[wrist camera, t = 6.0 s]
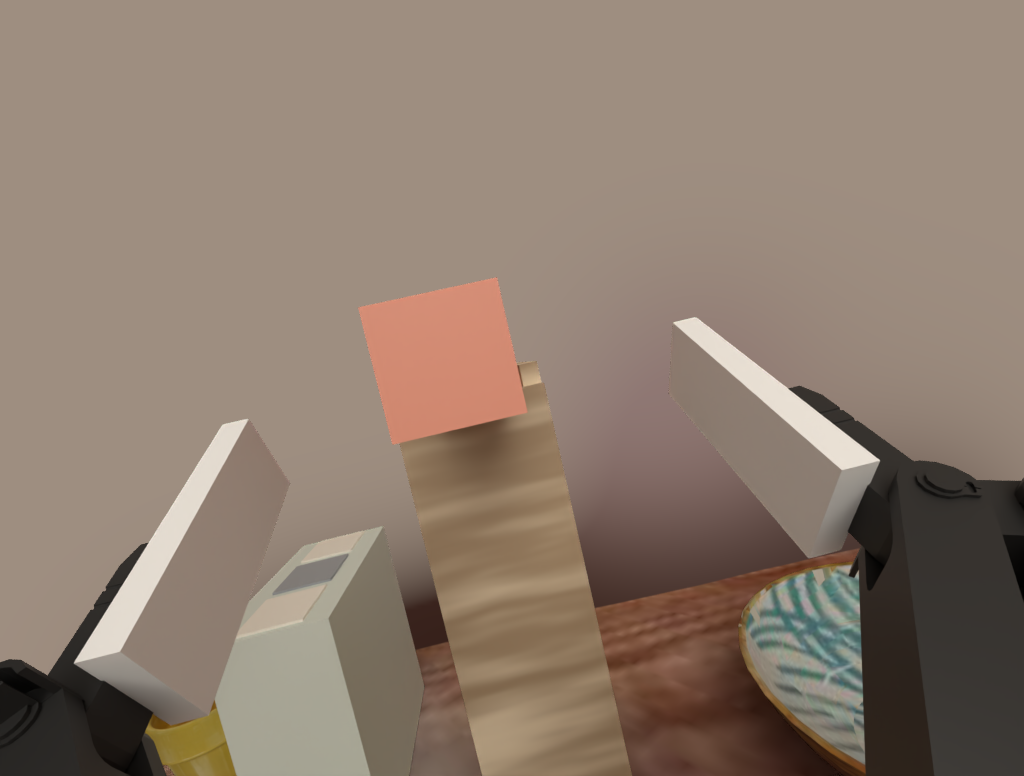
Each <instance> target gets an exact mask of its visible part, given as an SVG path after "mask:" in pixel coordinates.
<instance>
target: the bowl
mask: <svg viewBox="0 0 1024 776" xmlns="http://www.w3.org/2000/svg"><path fill="white" fill-rule="evenodd" d="M852 564H853V562H842V563H832V564H826V565H821V566H815V567H810V568H806V569H803V570H800V571H797V572H793V573H790V574H787V575H785V576H783V577H781V578H779V579H777V580H775V581H773V582H771V583H769V584H767V585H766V586H765V587H764V588H762V589H761V590H760V591H759V592H757V593H756V594H755V595H754V596H753V597H752V598H751V600H750V601H749V603H748V604H747V605H746V607H745V608H744V610H743V612H742V616H741V619H740V623H739V626H738V632H739V647H740V650H741V652H742V655H743V658H744V661H745V663H746V666H747V669H748V670H749V672H750V673H751V675H752V676H753V678H754V679H755V681H756V682H757V684H758V685H759V687H760V688H761V690H762V692H763V693H764V695H765V696H766V697H767V698H768V700H769V701H770V702H771V704H772V705H773V706H774V708H775V709H776V710H777V711H778V713H779V714H780V715H781V716H782V717H783V718H784V719H785V721H786V722H787V723H788V724H789V725H790V726H791V727H792V728H793V729H794V730H795V731H796V732H797V734H798V735H799V736H800V737H801V738H802V739H803V740H804V741H805V742H806V743H807V744H808V745H809V746H810V747H811V748H812V749H813V750H814V751H815V752H816V753H817V754H818V755H819V756H820V757H822V758H823V759H824V760H825V761H827V762H828V763H829V764H830V765H832V766H833V767H834V768H835V769H836V770H838V771H839V772H840V773H841V774H843V775H844V776H866V771H865V742H864V713H863V684H862V655H861V626H860V597H859V570H858V572H857V574H856V576H855V578H852V577H849V576H848V575H849V572H850V569H851V567H852Z"/></svg>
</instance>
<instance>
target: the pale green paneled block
mask: <svg viewBox="0 0 1024 776" xmlns="http://www.w3.org/2000/svg"><path fill="white" fill-rule="evenodd" d="M424 687H425V686H424V682H423V678H422V675H421V671H420V667H419V663H418V659H417V655H416V651H415V647H414V643H413V639H412V636H411V632H410V627H409V624H408V620H407V616H406V612H405V608H404V604H403V600H402V596H401V592H400V588H399V585H398V581H397V576H396V573H395V569H394V565H393V561H392V557H391V553H390V549H389V545H388V541H387V537H386V534H385V529H384V527H383V526H382V527H377V528H374V529H370V530H365V531H360V532H356V533H352V534H348V535H344V536H340V537H335V538H332V539H327V540H323V541H320V542H317V543H313V544H309V545H305V546H303V547H302V548H301V549H300V550H299V551H298V552H297V553H296V554H295V555H294V556H293V557H292V558H291V559H290V560H289V561H288V562H287V564H285V565H284V566H283V567H282V569H280V571H279V572H278V573H277V574H276V575H275V576H274V577H273V578H272V579H271V580H270V581H269V582H268V583H267V584H266V585H265V586H264V587H263V588H262V589H261V590H260V591H259V592H258V593H257V594H256V595H255V596H254V597H253V598H252V599H251V600H250V601H249V602H248V605H247V608H246V611H245V613H244V616H243V619H242V622H241V625H240V628H239V631H238V633H237V636H236V639H235V642H234V645H233V648H232V651H231V653H230V656H229V659H228V662H227V665H226V668H225V671H224V673H223V676H222V679H221V682H220V685H219V688H218V691H217V693H216V696H215V699H214V700H215V703H216V706H217V710H218V713H219V717H220V720H221V724H222V727H223V731H224V734H225V737H226V741H227V744H228V748H229V751H230V755H231V758H232V762H233V765H234V768H235V772H236V775H237V776H409V774H410V768H411V762H412V757H413V751H414V745H415V739H416V733H417V728H418V722H419V716H420V710H421V704H422V698H423V693H424Z"/></svg>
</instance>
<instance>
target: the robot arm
mask: <svg viewBox="0 0 1024 776" xmlns="http://www.w3.org/2000/svg"><path fill="white" fill-rule="evenodd" d="M669 395H670V396H671V397H672V398H673V399H674V401H675V402H676V403H677V404H678V405H679V406H680V408H681V409H682V410H683V411H684V412H685V414H686V415H687V416H688V417H689V418H690V420H691V421H692V422H693V423H694V424H695V425H696V427H697V428H698V429H699V430H700V431H701V432H702V434H703V435H704V436H705V437H706V438H707V440H708V441H709V442H710V443H711V444H712V445H713V446H714V448H715V449H716V450H717V451H718V452H719V454H720V455H721V456H722V457H723V458H724V459H725V461H726V462H727V463H728V464H729V465H730V467H731V468H732V469H733V470H734V471H735V472H736V474H737V475H738V476H739V477H740V478H741V479H742V481H743V482H744V483H745V484H746V485H747V487H748V488H749V489H750V490H751V491H752V492H753V494H754V495H755V496H756V497H757V498H758V499H759V501H760V502H761V503H762V504H763V505H764V506H765V508H766V509H767V510H768V511H769V512H770V514H771V515H772V516H773V517H774V518H775V519H776V521H777V522H778V523H779V524H780V525H781V527H782V528H783V529H784V530H785V531H786V532H787V533H788V535H789V536H790V537H791V538H792V539H793V541H794V542H795V543H796V544H797V545H798V547H799V548H800V549H801V550H802V551H803V552H804V554H805V555H806V556H807V557H808V558H812V557H816V556H820V555H824V554H827V553H831V552H835V551H839V550H841V549H842V546H843V544H844V542H845V540H846V537H847V535H848V533H850V534H851V535H852V536H853V537H854V538H855V539H856V540H857V541H858V542H859V543H860V544H861V545H862V546H861V548H860V550H859V552H858V554H857V556H856V558H855V560H854V562H853V564H852V567H851V569H850V572H849V575H848V576H849V577H852V578H855V576H856V574H857V572H858V570H859V597H860V626H861V655H862V684H863V713H864V742H865V771H866V776H1024V478H1023V479H1022V481H994V480H992V481H991V480H976V479H974V478H973V477H972V476H970V475H969V474H967V473H965V472H963V471H960V470H958V469H956V468H954V467H951V466H947V465H944V464H940V463H937V462H929V461H912V460H911V459H910V458H908V457H907V456H906V455H904V454H903V453H901V452H900V451H899V450H897V449H896V448H895V447H893V446H892V445H890V444H889V443H888V442H886V441H885V440H883V439H882V438H881V437H879V436H878V435H877V434H875V433H874V432H873V431H871V430H870V429H868V428H867V427H866V426H864V425H863V424H862V423H860V422H859V421H855V420H854V418H853V417H852V416H851V415H849V414H848V413H846V412H845V411H844V410H840V408H839V407H838V406H837V405H835V404H834V403H833V402H831V401H830V400H828V399H827V398H826V397H824V396H823V395H821V394H819V393H816V392H814V391H811V390H809V389H806V388H804V387H802V386H797V387H793V388H789V389H788V388H786V387H785V386H784V385H782V384H781V383H780V382H779V381H777V380H776V379H775V378H773V377H772V376H771V375H770V374H768V373H767V372H766V371H765V370H763V369H762V368H761V367H759V366H758V365H757V364H756V363H754V362H753V361H751V360H750V359H749V358H748V357H746V356H745V355H744V354H742V353H741V352H740V351H739V350H737V349H736V348H735V347H734V346H732V345H731V344H730V343H728V342H727V341H726V340H725V339H723V338H722V337H721V336H720V335H718V334H717V333H716V332H714V331H713V330H712V329H711V328H709V327H708V326H707V325H705V324H704V323H703V322H702V321H700V320H699V319H698V318H696V317H695V318H690V319H686V320H682V321H677V322H673V326H672V343H671V361H670V379H669ZM289 485H290V482H289V481H288V479H287V478H286V476H285V475H284V473H283V472H282V470H281V468H280V467H279V465H278V464H277V462H276V460H275V459H274V457H273V456H272V454H271V453H270V451H269V449H268V448H267V447H266V445H265V443H264V442H263V440H262V439H261V437H260V435H259V434H258V432H257V431H256V429H255V428H254V426H253V424H252V423H251V421H250V420H249V419H245V420H241V421H236V422H232V423H227V424H224V425H222V426H221V428H220V430H219V431H218V433H217V434H216V436H215V438H214V439H213V441H212V443H211V444H210V446H209V447H208V449H207V450H206V452H205V454H204V455H203V457H202V459H201V460H200V462H199V463H198V465H197V466H196V468H195V470H194V471H193V473H192V474H191V476H190V478H189V479H188V481H187V483H186V484H185V486H184V488H183V489H182V491H181V492H180V494H179V495H178V497H177V498H176V500H175V502H174V503H173V505H172V507H171V508H170V510H169V511H168V513H167V515H166V516H165V518H164V519H163V521H162V523H161V524H160V526H159V527H158V529H157V531H156V532H155V534H154V535H153V537H152V539H151V540H150V542H149V543H145V544H142V545H140V546H139V547H138V548H137V549H136V550H135V551H134V552H133V553H132V554H131V555H130V556H129V557H128V558H127V559H126V560H125V561H124V562H123V563H122V564H121V565H120V566H119V568H118V570H117V571H116V572H115V574H114V575H113V577H112V578H111V580H110V581H109V583H108V584H107V586H106V591H104V592H102V594H101V595H100V597H99V598H98V600H97V601H96V603H95V604H94V609H93V610H90V612H89V613H88V615H87V617H86V618H85V620H84V621H83V623H82V624H81V626H80V627H79V629H78V630H77V632H76V633H75V635H74V636H73V638H72V639H71V641H70V642H69V644H68V646H67V647H66V648H65V650H64V651H63V653H62V655H61V656H60V658H59V659H58V661H57V662H56V664H55V665H54V667H53V668H52V670H51V671H50V673H49V674H48V676H47V675H46V674H44V673H42V672H41V671H39V670H37V669H35V668H34V667H32V666H30V665H29V664H27V663H25V662H24V661H22V660H12V659H9V660H6V661H3V662H0V776H166V773H165V771H164V768H163V765H162V762H161V759H160V757H159V754H158V751H157V748H156V746H155V743H154V741H153V740H152V739H151V737H150V736H149V735H148V734H146V733H145V731H146V728H147V726H148V724H149V722H150V719H151V717H152V715H153V714H154V715H155V716H157V717H158V718H160V719H162V720H163V721H165V722H166V723H168V724H169V725H174V724H178V723H182V722H186V721H190V720H193V719H197V718H201V717H205V716H209V713H210V711H211V708H212V705H213V702H214V699H215V696H216V693H217V691H218V688H219V685H220V682H221V679H222V676H223V673H224V671H225V668H226V665H227V662H228V659H229V656H230V653H231V651H232V648H233V645H234V642H235V639H236V636H237V633H238V631H239V628H240V625H241V622H242V619H243V616H244V613H245V611H246V608H247V605H248V602H249V599H250V596H251V593H252V591H253V588H254V585H255V582H256V579H257V576H258V573H259V571H260V568H261V565H262V562H263V559H264V556H265V553H266V551H267V548H268V545H269V542H270V539H271V536H272V533H273V531H274V528H275V525H276V522H277V519H278V516H279V513H280V510H281V508H282V504H283V502H284V499H285V496H286V493H287V490H288V487H289Z"/></svg>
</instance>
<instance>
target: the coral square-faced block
mask: <svg viewBox="0 0 1024 776" xmlns="http://www.w3.org/2000/svg"><path fill="white" fill-rule="evenodd" d="M359 312H360V316H361V320H362V324H363V328H364V332H365V336H366V340H367V344H368V348H369V352H370V356H371V360H372V364H373V368H374V372H375V376H376V380H377V384H378V388H379V392H380V396H381V400H382V404H383V408H384V412H385V416H386V420H387V424H388V428H389V432H390V436H391V440H392V444H398V443H402V442H406V441H410V440H414V439H419V438H423V437H427V436H431V435H435V434H440V433H444V432H448V431H452V430H457V429H461V428H465V427H469V426H473V425H478V424H482V423H486V422H490V421H494V420H499V419H503V418H507V417H511V416H515V415H520V414H524V413H528V412H527V407H526V403H525V398H524V394H523V390H522V385H521V381H520V376H519V372H518V368H517V363H516V360H515V354H514V350H513V346H512V341H511V337H510V333H509V328H508V324H507V320H506V315H505V311H504V306H503V302H502V298H501V293H500V289H499V285H498V280H497V277H496V278H492V279H487V280H483V281H478V282H473V283H469V284H464V285H459V286H455V287H450V288H445V289H441V290H436V291H432V292H427V293H422V294H418V295H414V296H409V297H404V298H399V299H395V300H390V301H386V302H381V303H377V304H372V305H367V306H363V307H359Z"/></svg>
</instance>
